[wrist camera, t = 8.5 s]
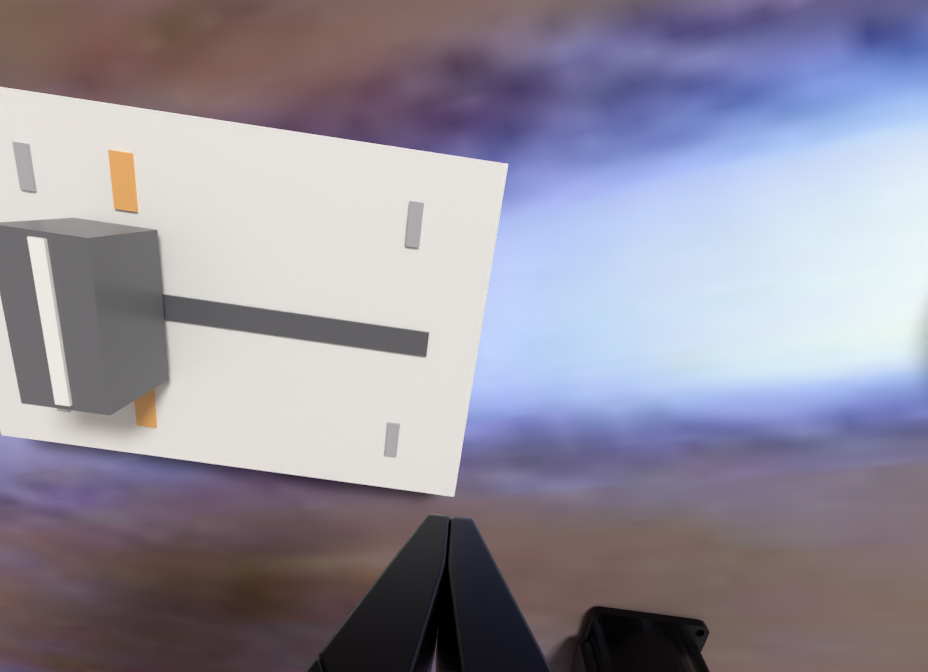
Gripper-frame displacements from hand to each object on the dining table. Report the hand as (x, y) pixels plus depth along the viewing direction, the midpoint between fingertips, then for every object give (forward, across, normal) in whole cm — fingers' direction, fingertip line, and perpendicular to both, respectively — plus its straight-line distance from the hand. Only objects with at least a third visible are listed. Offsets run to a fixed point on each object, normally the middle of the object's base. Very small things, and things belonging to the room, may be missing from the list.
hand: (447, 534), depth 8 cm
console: (+12, +10, -1) cm, 15 cm away
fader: (+9, +13, -1) cm, 16 cm away
